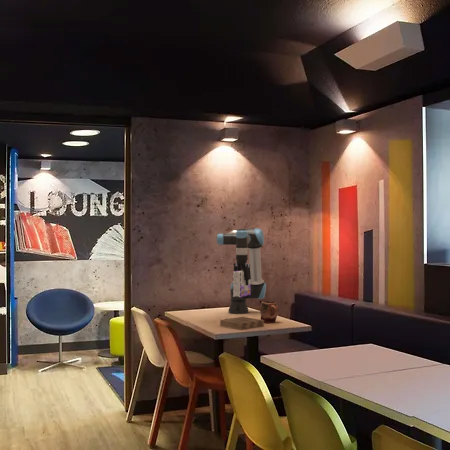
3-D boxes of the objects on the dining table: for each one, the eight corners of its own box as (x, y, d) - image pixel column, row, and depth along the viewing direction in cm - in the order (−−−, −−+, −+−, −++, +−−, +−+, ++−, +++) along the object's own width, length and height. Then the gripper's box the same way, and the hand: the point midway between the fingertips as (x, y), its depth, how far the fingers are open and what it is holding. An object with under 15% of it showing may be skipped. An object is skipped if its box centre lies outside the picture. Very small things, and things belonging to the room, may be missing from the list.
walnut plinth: (243, 322, 405) (243, 316, 405) (264, 326, 390) (263, 320, 390) (220, 326, 392) (220, 319, 392) (241, 329, 377) (241, 323, 377)
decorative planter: (285, 323, 399) (285, 302, 399) (269, 325, 394) (269, 303, 394) (269, 319, 417) (269, 299, 417) (254, 321, 412) (254, 300, 412)
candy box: (243, 294, 398) (243, 269, 398) (251, 295, 395) (250, 270, 395) (232, 296, 386) (232, 271, 386) (240, 297, 383) (240, 271, 383)
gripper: (227, 254, 396) (227, 289, 396) (248, 255, 381) (248, 291, 381) (235, 253, 401) (236, 288, 401) (256, 254, 386) (256, 290, 386)
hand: (241, 289), depth 391 cm, fingers closed on candy box, 7 cm apart
